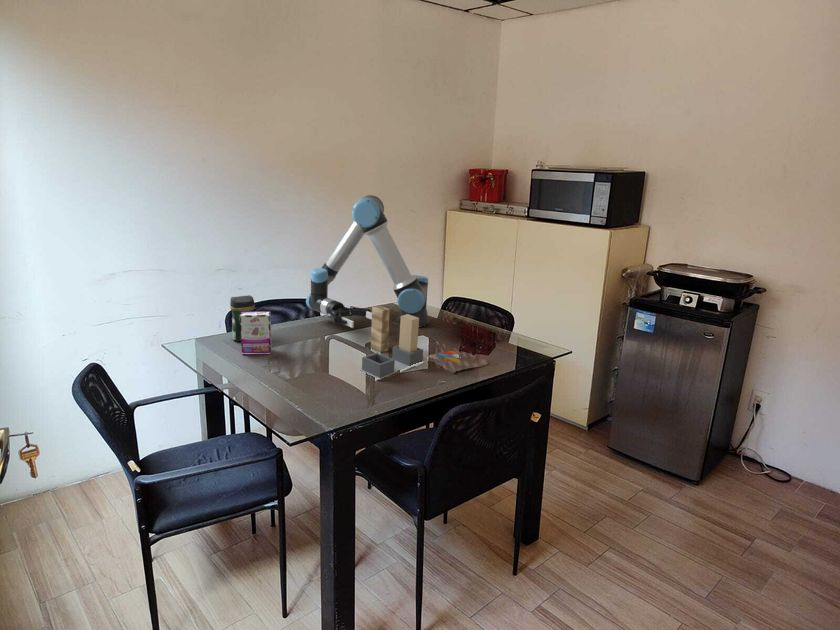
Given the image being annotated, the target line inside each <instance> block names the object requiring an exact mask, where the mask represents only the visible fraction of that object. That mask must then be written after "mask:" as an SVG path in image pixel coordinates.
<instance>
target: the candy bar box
mask: <svg viewBox="0 0 840 630" xmlns="http://www.w3.org/2000/svg"><path fill="white" fill-rule="evenodd" d="M271 323H272V321H271V311H253V312H241V315H240V325H241V342H240V343H241V353H242V352H243V353H271V354H272V327H271V326H272V325H271Z"/></svg>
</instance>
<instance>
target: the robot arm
mask: <svg viewBox="0 0 840 630" xmlns="http://www.w3.org/2000/svg"><path fill="white" fill-rule="evenodd" d="M384 212H385V205H384V203H383V201H382V200H381V199H380V198H379V197H378V196H376V195H372V194H370V195H366V196H364V197H362V198H360V199H358V200H357V201H356V202H355V203H354V205H353V207H352V212H351V216H352V219H353V220H352V222H351V223H350V224H349V226H348V228H347V230H346V231H345V233H344V234H343V235H342V237H341V238H340V240H339V242H338V243H337V245H336V246H335V247H334V249H333V250H332V251H331V253H330V255H329V257H328V258H327V259H326V261H325V262H324V264H323V265H322V267H320V268H319V267H318V268H317V267H316V268H313V269H312V270H311V271H310V293H309V294H308V295H307V298H306V300H305V303H306V306H307V307H308V308H309V309H311V310H312V311H314V312H318V313H320V314H323V315H326V316H327V317H328V319H330V320H331V321H332V323H333V324H334V325H338V326H342V325H344V326H346V327H350V328H351V329H354V327H355V326H354V323H355V321H354V320H351V319H348V318H346V317H353V316H356V317H357V316H358V317H365V318H366V319H369V320H372V309H369V308H364V307H357V306H353V305H351V306H349V307H346V306H345V305H344V304H343V303H342V302H340V301H337V300H335V299H332V298H329V297H328V290H329V289H328V287H329V285H330V284H331V282H333V281H334V280H335V279H336V276H337V275H338V274H339V272H340V270H341V269H342V267H343V266H344V265H345V263H346V262H347V260H348V259H349V257H350V256H351V254H352V253H353V251H355V249H356V247H357V245H358V244H359V243H360V242H361V240H362V238H363V237H364V235H367V236H368V237H369V239H370V240H371V243H372V244H373V246H374V248H375V250H376V252H377V254H378V256H379V258H380V260H381V261H382V263H383V266H384V268H385V269H386V271H387V274H388V275H389V277H390V278H391V281H392V283H393V287H392V290H393V292H394V294H395V296H396V298H397V304H398V307H399V309H400V310H399V313H398V315H397V319H396V322H397V321H398V322H397V324H398V323H400V320H401V316H403V315H406V314H409V315H412V316H415V317H418V318H419V326H424V325H427V324H428V323H429V324H430V318H429V315H428V310H427V301H428V287H429V278H428V277H426V276H424V275H416V274H411V271H410V269H409V268H408V266H407V263H406V262H405V260H404V258H403V255H402V254H401V252H400V251H399V248H398V246H397V244H396V242H395V240H394V238H393V236H392V234H391V233H390V231H389V228H388V227H387V226H388V222H389V221H388V219H387V217H386V215H385V214H384ZM429 324H428V325H429ZM428 325H427V326H428Z"/></svg>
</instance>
